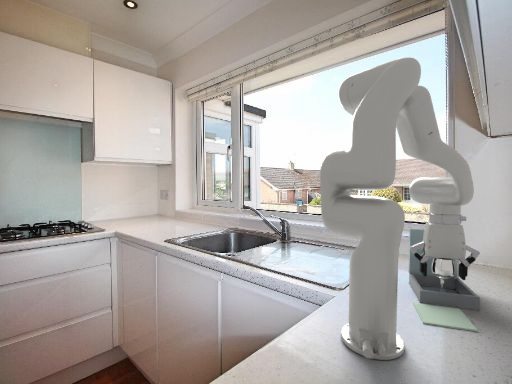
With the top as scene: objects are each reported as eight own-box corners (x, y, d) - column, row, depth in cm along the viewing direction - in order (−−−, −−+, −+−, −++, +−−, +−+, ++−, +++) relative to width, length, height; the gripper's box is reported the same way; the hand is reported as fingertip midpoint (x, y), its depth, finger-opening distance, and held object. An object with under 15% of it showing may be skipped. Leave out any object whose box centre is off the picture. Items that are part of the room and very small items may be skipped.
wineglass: (427, 297, 81) (429, 257, 80) (432, 291, 85) (434, 253, 84) (451, 303, 77) (452, 261, 76) (455, 297, 81) (456, 257, 80)
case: (479, 310, 73) (482, 242, 72) (419, 302, 78) (421, 238, 77) (456, 287, 88) (458, 230, 87) (408, 282, 93) (409, 228, 92)
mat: (477, 331, 63) (477, 330, 63) (423, 323, 66) (423, 322, 66) (459, 309, 73) (459, 308, 73) (413, 303, 77) (413, 302, 77)
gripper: (474, 218, 80) (472, 275, 81) (408, 216, 86) (407, 269, 87) (486, 223, 73) (483, 284, 74) (413, 220, 79) (412, 277, 80)
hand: (442, 276), depth 81 cm, fingers open, 9 cm apart
